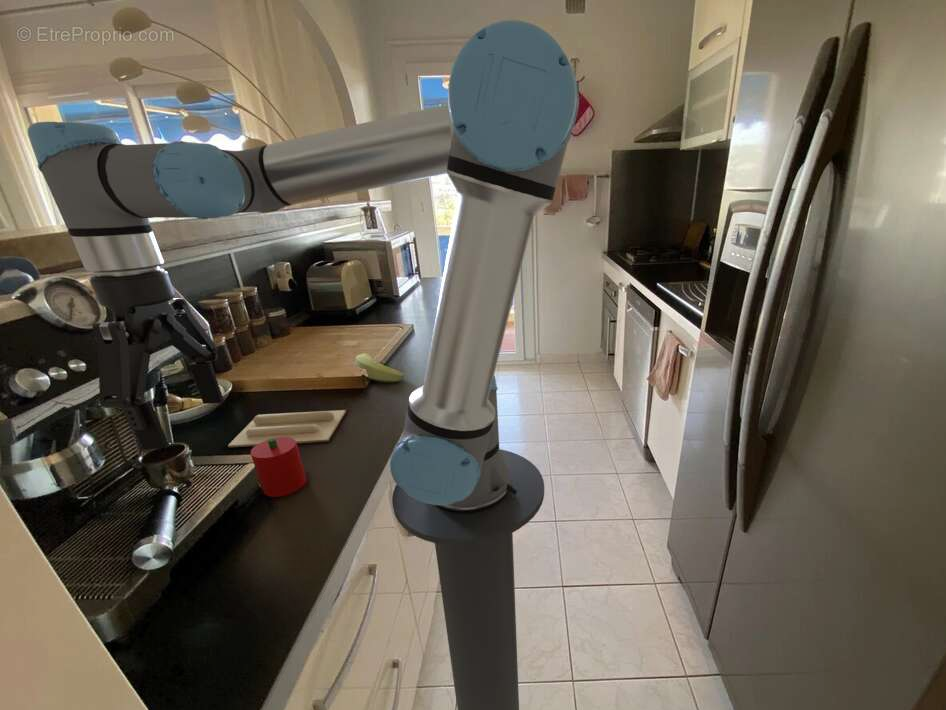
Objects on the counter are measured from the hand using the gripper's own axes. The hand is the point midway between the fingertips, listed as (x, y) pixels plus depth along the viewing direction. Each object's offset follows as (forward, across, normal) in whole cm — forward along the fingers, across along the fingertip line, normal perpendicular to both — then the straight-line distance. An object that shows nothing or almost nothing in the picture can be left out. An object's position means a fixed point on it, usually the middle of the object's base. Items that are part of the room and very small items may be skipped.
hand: (187, 423), depth 64 cm
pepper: (+18, -9, +6) cm, 21 cm away
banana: (+18, -63, +11) cm, 67 cm away
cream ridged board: (+18, -31, -2) cm, 36 cm away
